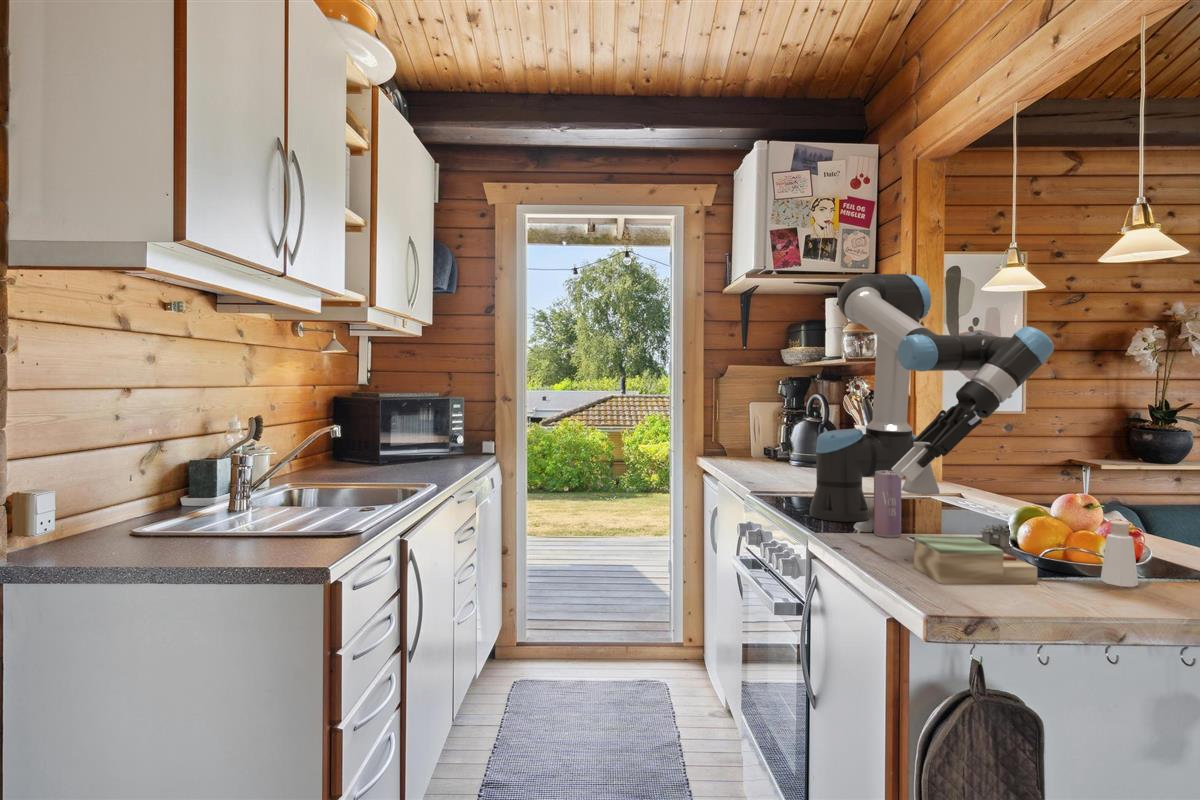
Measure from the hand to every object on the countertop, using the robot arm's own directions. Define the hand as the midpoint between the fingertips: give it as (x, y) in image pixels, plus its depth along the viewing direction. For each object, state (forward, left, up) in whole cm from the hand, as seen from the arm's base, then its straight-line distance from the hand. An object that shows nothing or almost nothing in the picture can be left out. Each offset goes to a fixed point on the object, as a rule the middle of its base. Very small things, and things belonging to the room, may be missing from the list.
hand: (901, 475), depth 139 cm
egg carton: (-18, +30, -18) cm, 40 cm away
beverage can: (-24, +7, -18) cm, 31 cm away
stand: (+10, +9, -17) cm, 22 cm away
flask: (0, +4, -4) cm, 5 cm away
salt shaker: (+15, +33, -18) cm, 40 cm away
